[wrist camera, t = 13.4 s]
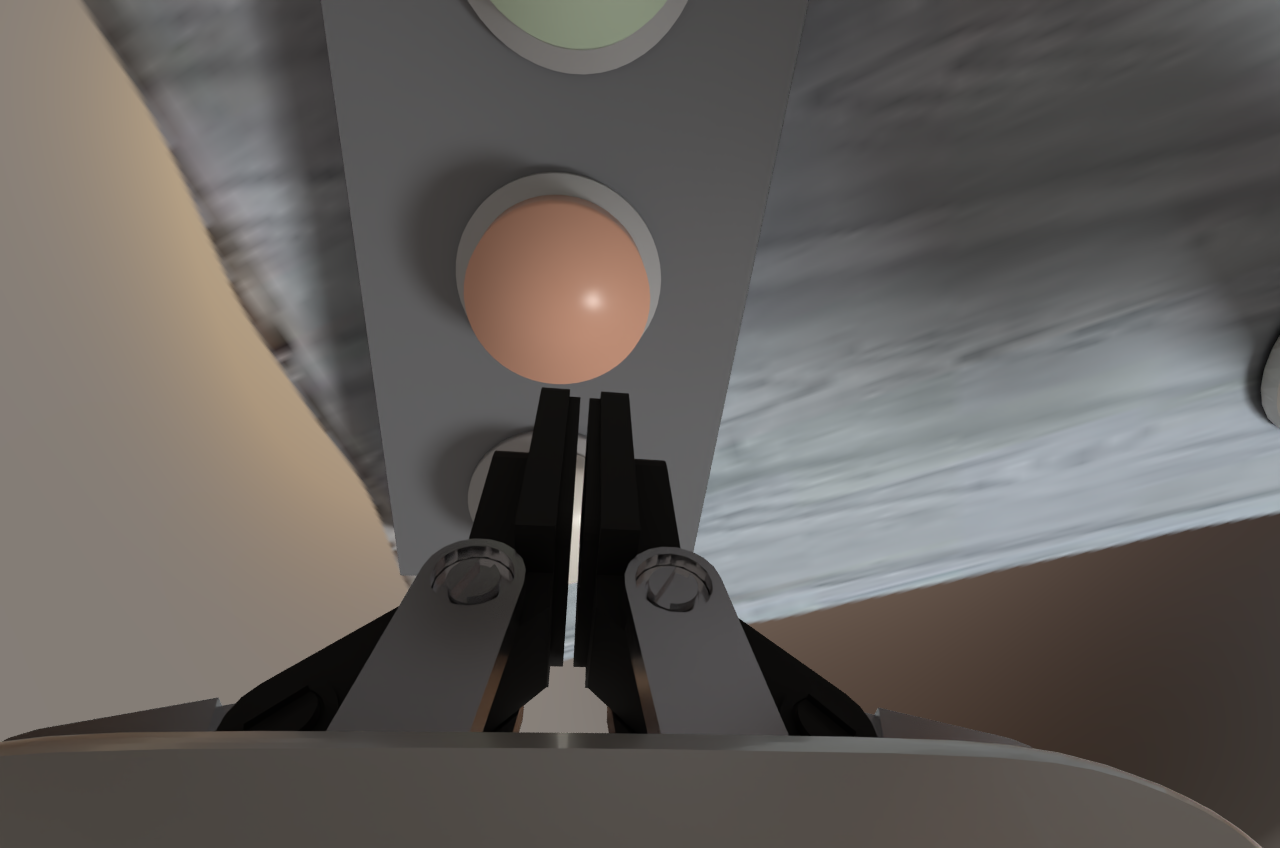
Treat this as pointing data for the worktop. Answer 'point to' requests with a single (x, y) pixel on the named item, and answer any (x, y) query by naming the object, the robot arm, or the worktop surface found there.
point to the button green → (579, 20)
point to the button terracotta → (557, 290)
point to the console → (551, 165)
